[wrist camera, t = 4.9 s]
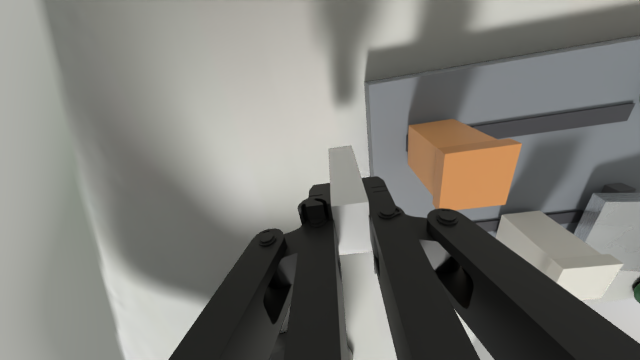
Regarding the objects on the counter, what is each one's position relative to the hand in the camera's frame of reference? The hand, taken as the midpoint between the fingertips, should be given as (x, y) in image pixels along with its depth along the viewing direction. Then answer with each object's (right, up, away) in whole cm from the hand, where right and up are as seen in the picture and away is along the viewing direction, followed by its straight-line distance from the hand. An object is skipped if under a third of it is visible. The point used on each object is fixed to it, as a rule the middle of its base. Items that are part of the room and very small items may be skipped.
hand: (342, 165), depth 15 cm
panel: (+15, 0, +5) cm, 16 cm away
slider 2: (+16, -5, +5) cm, 17 cm away
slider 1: (+6, +2, +1) cm, 7 cm away
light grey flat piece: (+23, -5, +3) cm, 24 cm away
